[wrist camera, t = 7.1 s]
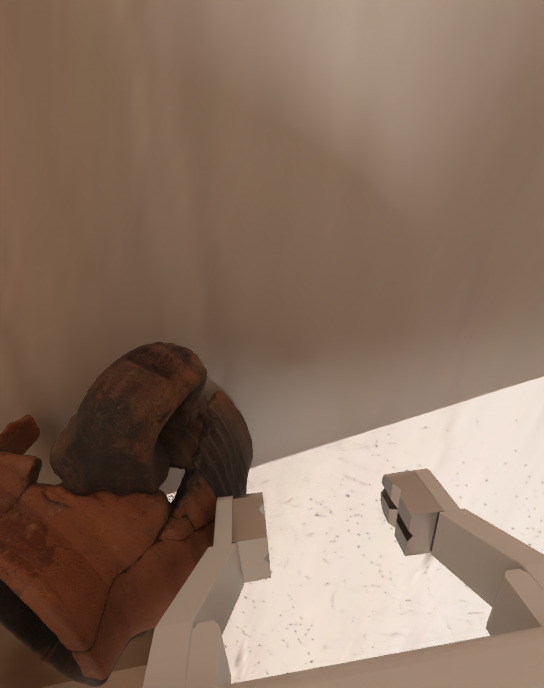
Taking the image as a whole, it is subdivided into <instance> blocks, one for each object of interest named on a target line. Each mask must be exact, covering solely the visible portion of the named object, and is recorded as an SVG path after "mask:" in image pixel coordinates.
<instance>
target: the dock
mask: <svg viewBox="0 0 544 688" xmlns="http://www.w3.org/2000/svg"><path fill="white" fill-rule="evenodd" d="M155 627H156V626H155ZM155 627H154V628H152V629H150V630H148V631H147V632H146V633H145V634H144V635H143V636H142V637H141V638H136V639H134V640H132V641H131V642H129V643H128V645H127V646H126V648H125V650H124V651H123V653H122V655H121V656H120V658H119V660H118V661H117V663H116V665H115V667H114V669H113V670H112V672H111V674H110V676H109V678H108V680H107V681H106V683H105V684H103V685H101V686H97V687H92V686H89V685H86V684H83V683H79V682H76V681H74V680H71V679H70V678H67V677H66V676H64V675H62V674H61V673H59V672H58V671H57V670H56V669H54V668H53V667H51V666H50V665H48V664H47V663H44V662H42V661H41V660H40V657H38V656H37V655H36V654H34V653H33V652H31V651H30V650H29V649H28V648H27V647H26V646H25V645H24V644H23V643H22V642H21V641H19V640H18V639H17V638H16V637H15V636H14V635H13V634H12V633H11V632H10V631H8V630H7V629H6V628H5V627H4V626H3V625H2V624H1V623H0V688H143V683H144V678H145V673H146V668H147V663H148V659H149V654H150V649H151V644H152V639H153V634H154V630H155Z"/></svg>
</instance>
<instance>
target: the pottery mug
mask: <svg viewBox="0 0 544 688" xmlns="http://www.w3.org/2000/svg"><path fill="white" fill-rule="evenodd" d="M206 379H207V370H206V369H205V367H204V366H203V365H202V363H201V362H200V360H199V358H198V356H197V355H196V354H195V353H194V352H193V351H191V350H190V349H187V348H185V347H180V346H178V345H176V344H173V343H162V342H156V343H153V344H147V345H143V346H140V347H138V348H136V349H134V350H132V351H130V352H128V353H127V354H125V355H123V356H122V357H121V358H119V359H118V360H116V361H115V362H114V363H112V364H111V365H110V366H109V367H108V368H107V369H106V370H105V371H104V372H103V373H102V374H101V375H100V376H99V377H98V378H97V379H96V381H95V382H94V384H93V385H92V386H91V388H90V389H89V390H88V392H87V394H86V396H85V398H84V400H83V402H82V403H81V405H80V407H79V409H78V412H77V414H75V415H74V416H73V417H72V418H71V420H70V421H69V423H68V425H67V427H66V428H65V429H64V431H63V432H62V434H61V435H60V437H59V438H58V439H57V441H56V442H55V444H54V445H53V447H52V449H51V454H50V464H51V467H52V469H53V471H54V473H55V474H56V475H58V476H59V477H60V479H62V483H61V484H58V485H50V484H40V483H37V479H38V476H39V473H40V470H41V466H42V461H41V459H39V458H37V457H35V456H30V455H23V454H24V453H25V452H26V451H27V450H28V449H29V448H30V446H31V445H32V444H33V443H34V442H35V441H36V440H37V439H38V437H39V434H40V430H39V428H38V427H37V424H36V422H35V420H34V419H33V417H32V416H30V415H26V416H24V417H23V418H21V419H20V420H18V421H15V422H12V423H10V424H8V425H7V427H6V429H5V430H4V431H3V432H2V433H1V434H0V623H1V624H2V625H3V626H4V627H5V628H6V629H7V630H8V631H10V632H11V633H12V634H13V635H14V636H15V637H16V638H17V639H18V640H19V641H21V642H22V643H23V644H24V645H25V646H26V647H27V648H28V649H29V650H30V651H31V652H33V653H34V654H36V655H37V656H38V657H40V660H41V661H42V662H44V663H47V664H48V665H50V666H51V667H53V668H54V669H56V670H57V671H58V672H59V673H61V674H62V675H64V676H66V677H67V678H70V679H71V680H74V681H76V682H79V683H83V684H86V685H89V686H92V687H97V686H101V685H103V684H105V683H106V681H107V680H108V678H109V676H110V674H111V672H112V670H113V669H114V667H115V665H116V663H117V661H118V660H119V658H120V656H121V655H122V653H123V651H124V650H125V648H126V646H127V645H128V643H129V642H131V641H132V640H134V639H136V638H141V637H142V636H143V635H144V634H145V633H146V632H147V631H148V630H150V629H152V628H154V627H155V626H157V624H158V623H159V621H160V620H161V618H162V617H163V615H164V614H165V612H166V611H167V609H168V608H169V606H170V605H171V603H172V602H173V600H174V599H175V597H176V596H177V594H178V592H179V591H180V589H181V588H182V586H183V585H184V583H185V582H186V580H187V579H188V577H189V576H190V574H191V573H192V571H193V570H194V568H195V567H196V565H197V564H198V562H199V561H200V559H201V558H202V556H203V555H204V553H205V552H206V550H207V549H208V547H213V542H214V529H215V515H216V502H217V499H218V497H226V496H233V495H242V494H246V485H247V477H248V472H249V469H250V466H251V462H252V458H253V450H252V440H251V437H250V434H249V431H248V427H247V425H246V423H245V421H244V418H243V416H242V415H241V413H240V412H239V411H238V410H237V409H236V407H235V406H234V404H233V403H232V402H231V401H230V400H229V399H228V397H227V396H226V395H225V394H224V393H223V392H221V391H217V392H216V393H215V394H214V395H213V396H212V398H211V401H210V402H209V403H208V404H207V401H206V398H205V396H204V385H205V382H206ZM169 467H173V468H179V469H185V475H184V476H183V478H182V481H181V484H180V486H179V488H178V490H177V493H176V496H175V498H174V500H173V501H172V502H171V503H170V502H169V501H168V498H167V496H166V494H165V493H164V492H162V491H161V490H159V487H160V486H161V485H162V484H163V483H164V481H165V480H166V478H167V475H168V471H169Z"/></svg>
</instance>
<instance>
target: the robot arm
mask: <svg viewBox="0 0 544 688" xmlns="http://www.w3.org/2000/svg"><path fill="white" fill-rule="evenodd" d="M382 484H383V486H384V488H385V489H384V490H383V491H382V492H381V505H382V509H383V512H384V515H385V517H386V519H387V521H388V523H389V524H391V525H392V526H393V527H395V537H396V539H397V541H398V543H399V545H400V547H401V549H402V551H403V553H404V555H405V556H408V555H416V554H424V553H431V555H433V556H434V557H435V558H436V559H437V560H438V561H440V562H441V563H442V564H443V565H444V566H445V567H446V568H448V569H449V570H450V571H451V572H452V573H453V574H455V575H456V576H457V577H458V578H459V579H460V580H461V581H463V582H464V583H465V584H466V585H467V586H468V587H469V588H471V589H472V590H473V591H474V592H475V593H476V594H478V595H479V596H480V597H481V598H482V599H483V600H484V601H486V602H487V603H488V604H489V605H490V606H491V607H492V610H491V613H490V616H489V618H488V621H487V626H486V629H487V630H488V632H489V634H490V635H491V636H487V637H482V638H476V639H471V640H465V641H460V642H455V643H449V644H444V645H438V646H433V647H428V648H422V649H417V650H411V651H406V652H401V653H395V654H390V655H384V656H379V657H374V658H368V659H363V660H357V661H352V662H347V663H341V664H336V665H330V666H325V667H320V668H314V669H309V670H304V671H298V672H293V673H287V674H282V675H277V676H271V677H266V678H261V679H255V680H250V681H244V682H239V683H234V684H231V674H230V669H229V665H228V661H227V657H226V652H225V648H224V644H223V639H222V634H223V632H224V629H225V627H226V625H227V623H228V620H229V618H230V616H231V613H232V611H233V609H234V606H235V604H236V602H237V600H238V597H239V595H240V593H241V590H242V588H243V586H244V583H245V582H251V581H256V580H261V579H266V578H271V573H270V562H269V551H268V541H267V530H266V520H265V511H264V501H263V493H262V492H260V493H251V494H242V495H233V496H226V497H218V499H217V502H216V515H215V529H214V542H213V547H208V549H207V550H206V552H205V553H204V555H203V556H202V558H201V559H200V561H199V562H198V564H197V565H196V567H195V568H194V570H193V571H192V573H191V574H190V576H189V577H188V579H187V580H186V582H185V583H184V585H183V586H182V588H181V589H180V591H179V592H178V594H177V596H176V597H175V599H174V600H173V602H172V603H171V605H170V606H169V608H168V609H167V611H166V612H165V614H164V615H163V617H162V618H161V620H160V621H159V623H158V624H157V626H156V627H155V630H154V634H153V639H152V644H151V649H150V654H149V659H148V663H147V668H146V673H145V678H144V683H143V688H544V555H543V554H542V553H540V552H538V551H537V550H535V549H533V548H531V547H530V546H528V545H526V544H525V543H523V542H521V541H519V540H518V539H516V538H514V537H513V536H511V535H509V534H507V533H506V532H504V531H502V530H501V529H499V528H497V527H495V526H494V525H492V524H490V523H489V522H487V521H485V520H483V519H482V518H480V517H478V516H477V515H475V514H473V513H471V512H470V511H468V510H466V509H460V508H459V507H458V506H457V504H456V503H455V502H454V500H453V499H452V498H451V497H450V495H449V494H448V493H447V492H446V490H445V489H444V488H443V487H442V485H441V484H440V483H439V481H438V480H437V479H436V478H435V476H434V475H433V474H432V473H431V471H430V470H428V469H420V470H413V471H405V472H398V473H392V474H385V475H384V476H383V479H382Z"/></svg>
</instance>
